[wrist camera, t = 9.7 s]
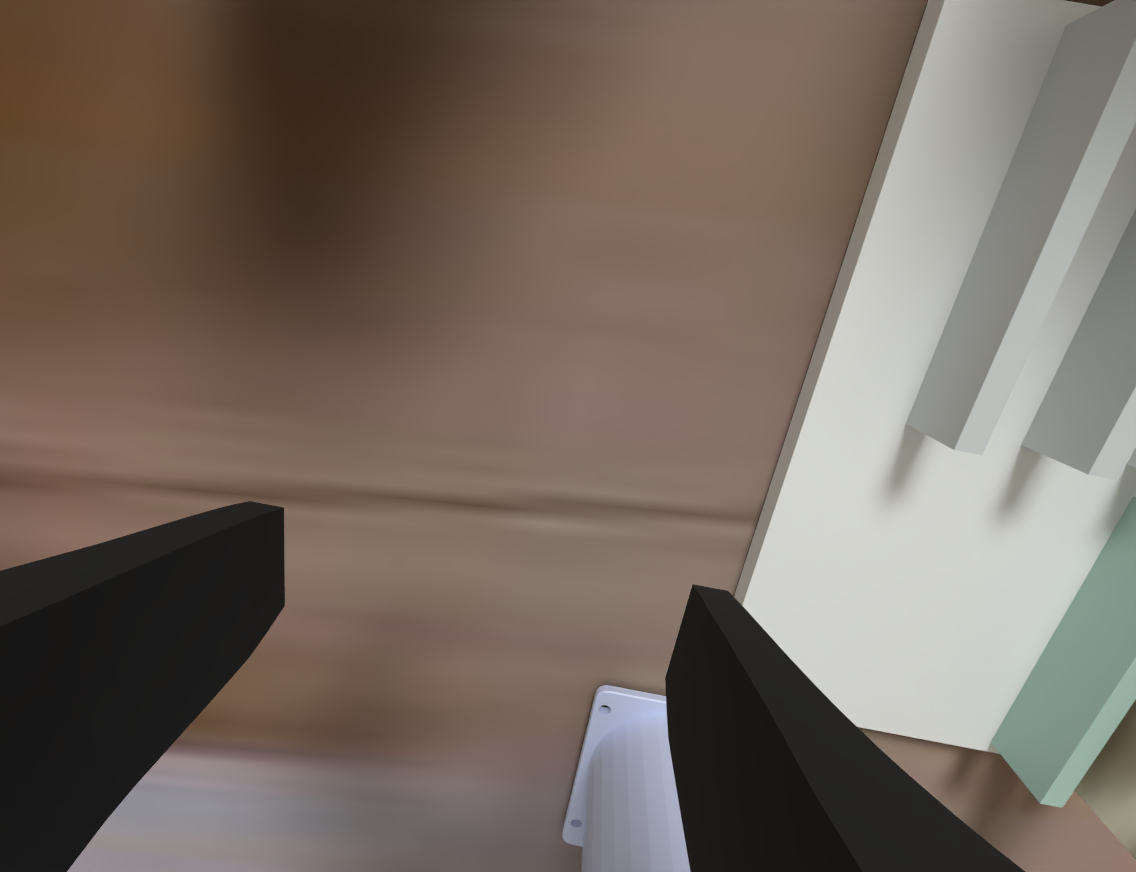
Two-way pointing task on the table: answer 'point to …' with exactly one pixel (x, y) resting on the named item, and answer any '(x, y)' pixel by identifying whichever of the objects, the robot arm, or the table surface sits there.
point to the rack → (976, 406)
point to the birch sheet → (1115, 782)
